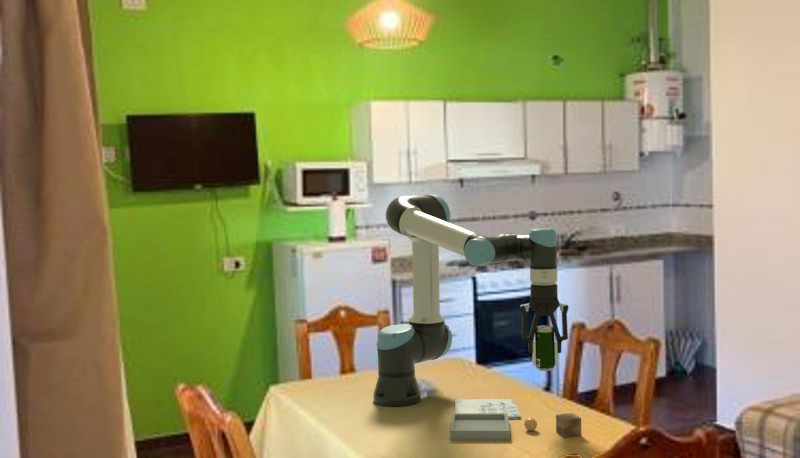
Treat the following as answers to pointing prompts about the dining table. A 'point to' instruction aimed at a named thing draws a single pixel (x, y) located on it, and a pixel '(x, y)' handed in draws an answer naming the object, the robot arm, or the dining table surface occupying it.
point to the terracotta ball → (530, 424)
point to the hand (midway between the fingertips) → (545, 364)
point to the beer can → (544, 348)
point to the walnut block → (568, 425)
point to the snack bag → (487, 406)
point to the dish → (479, 426)
